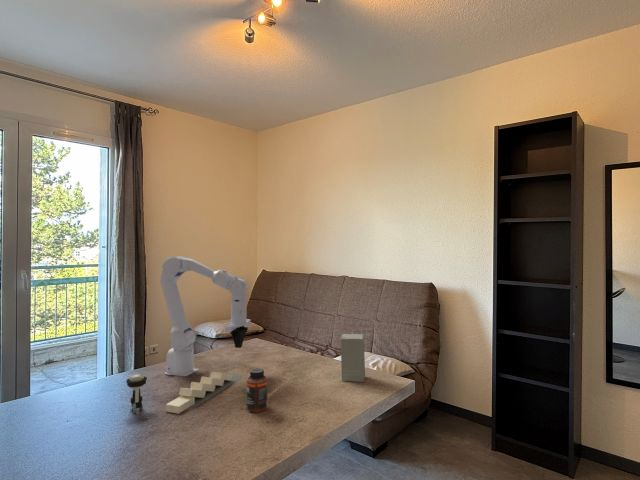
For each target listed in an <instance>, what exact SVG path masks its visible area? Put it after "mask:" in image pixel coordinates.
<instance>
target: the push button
mask: <svg viewBox="0 0 640 480" xmlns="http://www.w3.org/2000/svg"><path fill="white" fill-rule="evenodd" d="M147 380H148V377H147V376H145V375H144V373H134V374H131V375H130V376H129V378H127V379H126V386H127V387H129V388H131V389H132V397H130V411H133V413H136V415H139V414H140V412H141V409H143V396H142V395H141V388H142V387H143V386H144V385H147Z"/></svg>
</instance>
